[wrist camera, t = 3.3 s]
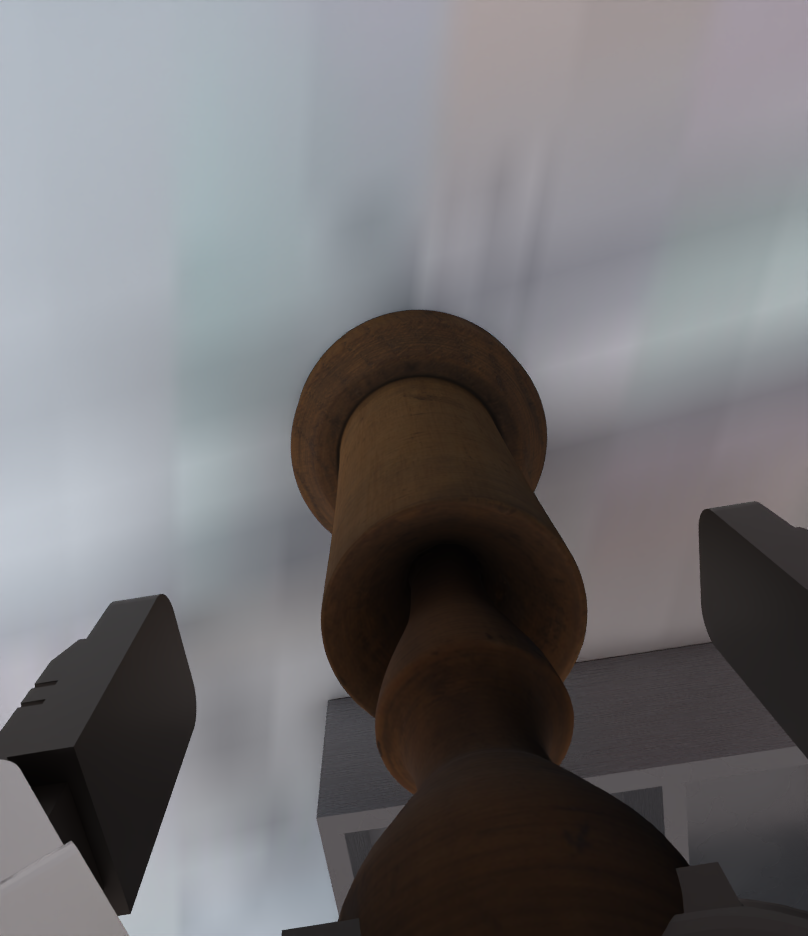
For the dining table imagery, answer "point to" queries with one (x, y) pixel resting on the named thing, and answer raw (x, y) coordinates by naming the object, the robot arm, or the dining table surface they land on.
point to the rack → (626, 770)
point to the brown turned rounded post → (463, 643)
